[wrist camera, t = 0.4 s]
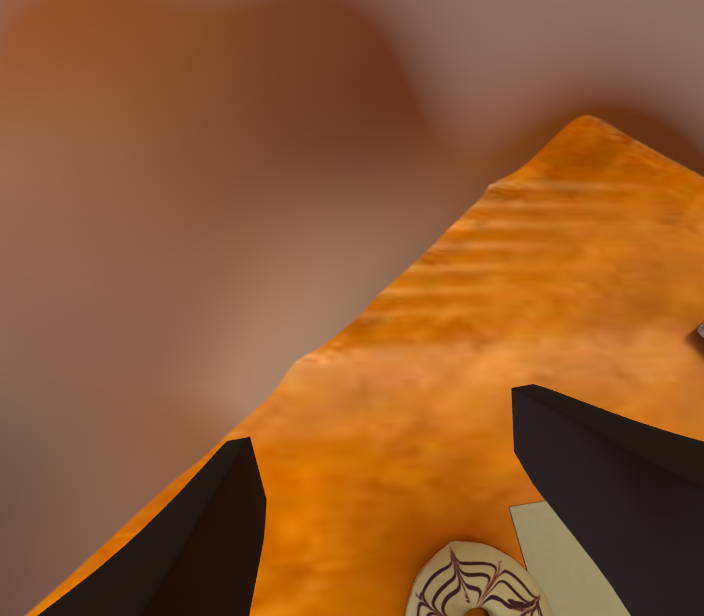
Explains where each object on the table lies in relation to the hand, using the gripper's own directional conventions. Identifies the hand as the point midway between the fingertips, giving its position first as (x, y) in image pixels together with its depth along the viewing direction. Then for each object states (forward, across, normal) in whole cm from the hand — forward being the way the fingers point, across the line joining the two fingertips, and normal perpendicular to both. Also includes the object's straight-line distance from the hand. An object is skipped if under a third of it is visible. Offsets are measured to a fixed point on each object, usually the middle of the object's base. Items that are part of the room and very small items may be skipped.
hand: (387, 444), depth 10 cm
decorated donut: (+13, -6, +26) cm, 30 cm away
